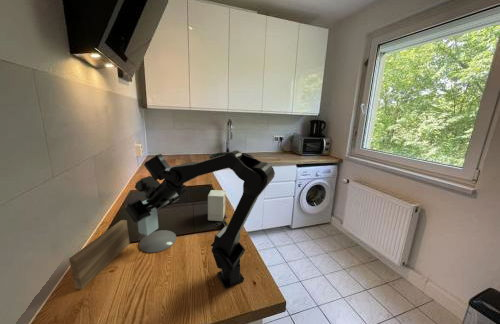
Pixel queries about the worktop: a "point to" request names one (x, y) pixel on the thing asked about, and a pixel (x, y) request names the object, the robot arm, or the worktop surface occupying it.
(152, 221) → the blue block
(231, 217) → the pastry
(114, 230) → the backboard
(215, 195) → the supplement box
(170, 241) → the saucer
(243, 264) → the worktop surface
